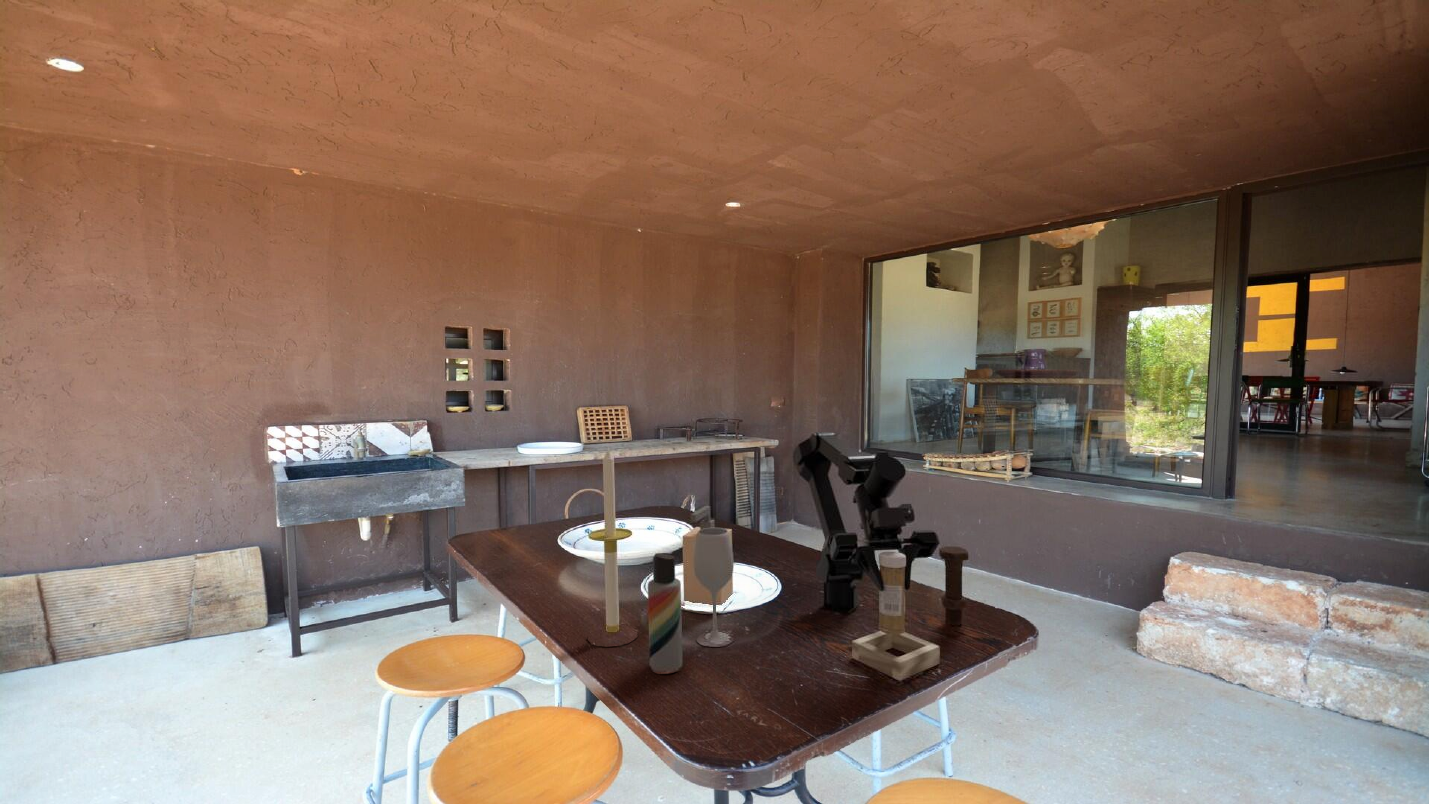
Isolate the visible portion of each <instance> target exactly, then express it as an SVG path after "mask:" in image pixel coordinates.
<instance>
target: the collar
mask: <svg viewBox="0 0 1429 804" xmlns="http://www.w3.org/2000/svg"><path fill="white" fill-rule="evenodd" d="M892 648H893V649H894V650H895V649H896V650H897V651H900V652H902V653H904V654H903V655H901V656H896V655H894V654H893V653H890V652H888V651H887V650H889V649H892ZM940 648H941V647H940V645H938V644H935V643H933V642H930V641H927V640H925V639H922V638H921V637H917V636H914V635H913V634H911V633H908V632H906V631H905V632H904V633H903V634H899V635H892V634H887V633H884V632H882V631H880V630H879V631H876V632H873V633H870V634H868V635H865V636H862V637H860V638H857V639H854V640H852V641H851V658H852V659H854V660H856V661H858V662H860V663H863V664H864V665H867V666H869V667H870V668H873V669H875V670H877V671H878V672H881V673H883V674H885V675H886V676H888V677H891V678H893V679H895V680H897V681H899V682H900V681H903V680H906V679H907V678H910V677H912V676H914V675H917V674H919V673H922V672H923V671H926V670H927V669H930V668H932V667H935V666H937V665H939V664H940V660H941V658H940V657H941V655H940V652H941V649H940Z"/></svg>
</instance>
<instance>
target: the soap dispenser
mask: <svg viewBox="0 0 1429 804" xmlns="http://www.w3.org/2000/svg"><path fill="white" fill-rule="evenodd" d="M702 519H703V520H702ZM698 521H700V522H699V526H696V527H694V528H692V529H691V530H690V531H688V532H686V533H685V534H683V535H682V575H683V579H682V581H683V602H684V601H689V602H692V603H702V604H709V605H713V602H712V594H711V592H710V591H709V590H708V589H706V588H705V587H704V586H703V585H702V584H701V583H700V582H699V581H698V580H697V577H696V575H695V572H694V552H695V543H696V537H697V532H698V531H699V530H701V529H704V528H716V527H715V521H716V520H715V519H711V506H710V505H705V506H703V507H701V508H700V509H697V510H696V511H695V512H693V513H691V514H690V522H691V523H692V522H693V523H696V522H698ZM726 529H727V530H728V531H729V535H730V540H731V545H732V546H733V534H732V533H733V529H731V528H726ZM733 577H734V575H733V574H732V576H731V579H730V580H729V581H728V583H727V584H726V585H725V586H724V587H723V588H722V589H720V590H719V591H718V593H717V596H716V605H722V604H723V603H725V602H726V600H728V598H729V597H730V596H731V595H732V594H733V595H734V583H733V581H734V579H733Z"/></svg>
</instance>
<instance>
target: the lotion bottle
mask: <svg viewBox="0 0 1429 804" xmlns="http://www.w3.org/2000/svg"><path fill="white" fill-rule="evenodd" d="M675 560H676V558H675V555H673V554H671V553H668V552H657V553H654V556H653V557H652V575H653V577H652V579H650V580H649V581H648V584H647V604H648V607H647V608H648V609H647V611H648V644H649V645H648V646H649V647H648V648H649V649H648V651H649V652H648V653H649V667H650V666H651V667H652V669H654V670H659V671H672V670H676V669H678V668H679V667H681V666H682V667H683V630H682V629H683V628H682V625H683V623H682V618H683V617H682V583H681V581H680V579H679V578H676V561H675Z"/></svg>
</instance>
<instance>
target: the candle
mask: <svg viewBox="0 0 1429 804" xmlns="http://www.w3.org/2000/svg"><path fill="white" fill-rule="evenodd" d="M602 474H603V475H602V479H603V483H602V484H603V509H604V510H603V511H604V512H603V514H604V515H603V517H604V518H603V519H604V521H603V522H604V528H601V529H596V530H593V531H590V532H589V533H588V535H587V536H588V539H590V540H592V541H595V542H596V541H597V542H603V552H604V553H603V554H604V556H603V557H604V560H603V561H604V595H605V626H606V631H607V632H617V631H618V630H619V625H620V613H619V612H620V611H619V609H620V608H619V607H620V606H619V605H620V604H619V575H618V574H619V572H618V568H619V567H618V564H619V563H618V541H621V540H625V539H628V538H630V537H631V536H632V535H633V532H632V530H631V529H628V528H627V529H626V528H622V527H619V528H618V527H616V526H617V525H616V494H615V492H616V491H615V490H616V489H615V485H616V484H615V459H614V457H613V456H612V454H611V451H610V448H606V453H605V455H604V457H603V458H602Z"/></svg>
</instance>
